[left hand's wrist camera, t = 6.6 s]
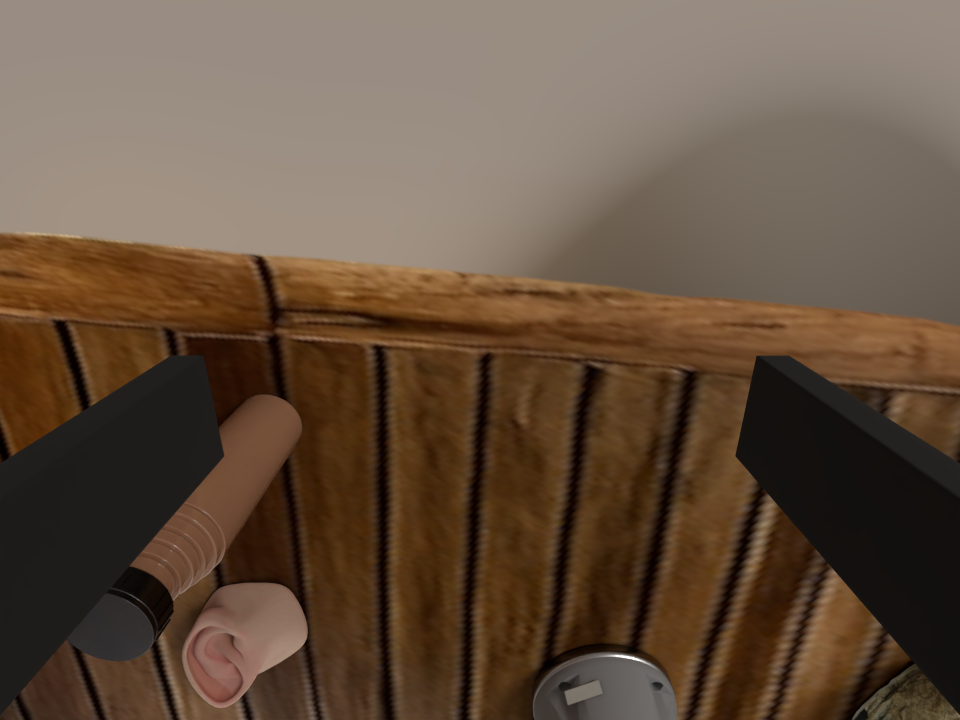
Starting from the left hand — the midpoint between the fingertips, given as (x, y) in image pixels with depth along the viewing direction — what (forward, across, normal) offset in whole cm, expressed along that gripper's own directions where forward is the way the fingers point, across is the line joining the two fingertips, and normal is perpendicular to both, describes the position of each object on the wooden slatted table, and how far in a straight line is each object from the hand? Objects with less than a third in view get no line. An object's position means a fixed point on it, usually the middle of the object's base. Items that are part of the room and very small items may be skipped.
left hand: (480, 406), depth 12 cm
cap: (+8, +18, +16) cm, 25 cm away
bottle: (+28, +18, +16) cm, 37 cm away
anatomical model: (+28, +24, +39) cm, 54 cm away
